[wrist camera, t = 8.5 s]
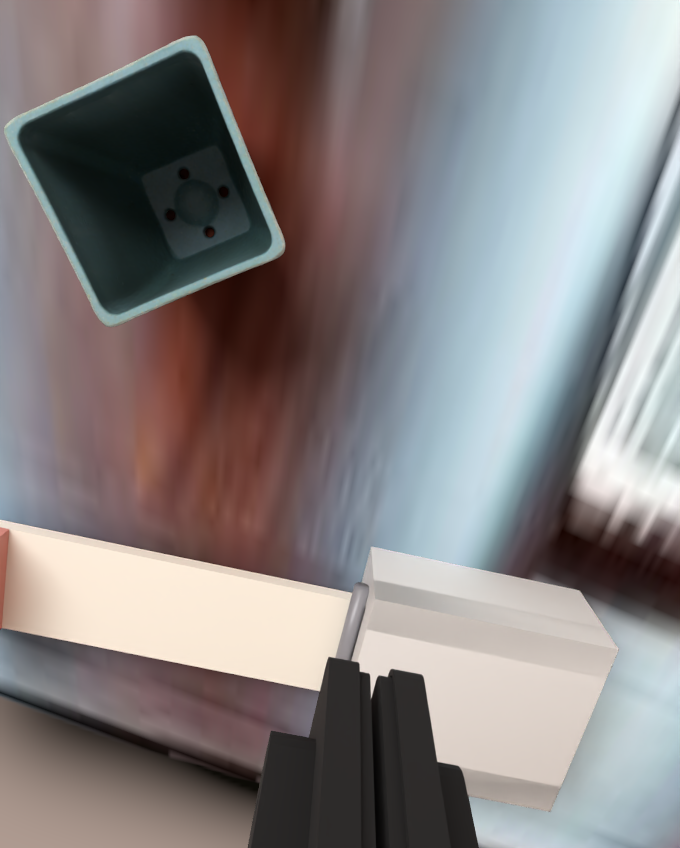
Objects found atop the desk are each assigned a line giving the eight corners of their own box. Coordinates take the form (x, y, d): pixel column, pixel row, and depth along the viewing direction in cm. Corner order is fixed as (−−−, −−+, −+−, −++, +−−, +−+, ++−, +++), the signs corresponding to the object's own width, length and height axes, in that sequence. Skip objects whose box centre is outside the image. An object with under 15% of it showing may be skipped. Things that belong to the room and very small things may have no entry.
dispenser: (579, 590, 39) (619, 649, 33) (523, 735, 43) (550, 811, 37) (357, 543, 39) (358, 595, 33) (318, 694, 42) (313, 765, 36)
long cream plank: (384, 599, 38) (390, 660, 32) (358, 690, 40) (359, 762, 34) (-34, 512, 36) (-103, 560, 31) (-39, 610, 38) (-105, 672, 33)
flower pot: (305, 251, 34) (290, 253, 25) (164, 310, 35) (102, 331, 26) (239, 88, 31) (198, 28, 23) (91, 156, 32) (-3, 124, 24)
